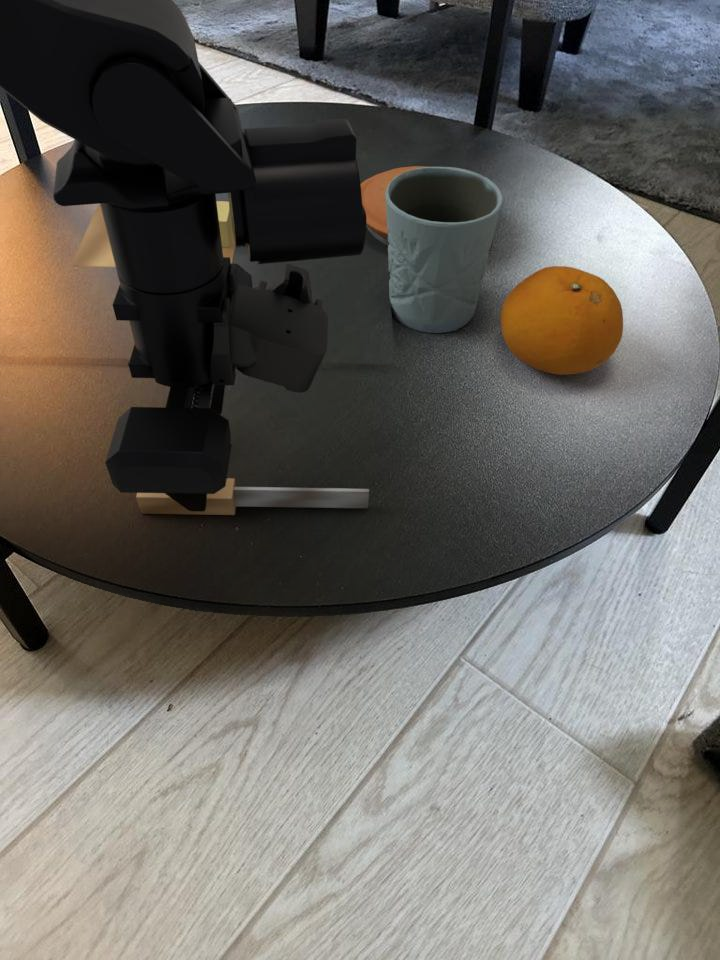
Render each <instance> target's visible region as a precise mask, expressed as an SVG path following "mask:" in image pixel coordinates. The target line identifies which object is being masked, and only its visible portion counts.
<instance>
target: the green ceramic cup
mask: <svg viewBox="0 0 720 960" xmlns="http://www.w3.org/2000/svg"><path fill="white" fill-rule="evenodd" d="M385 198H386V216H387V233H388V242H389V243H390V244H389V245H387V254H388V256H387V259H388V272H389V280H388V292H389V293H388V294H389V295H388V296H389V302H390V311H391V313H392V315H393V317H394V318H395V319H396V320H397V321H398V322H400V323H401V324H402V325H404V326H406V327H407V328H410V329H412V330H415V331H418V332H421V333H422V332H423V333H429V334H431V333H432V334H443V333H451V332H455V331H457V330H459V329H462V328H463V327H464V326H466V325H467V324H469V322H470V321H471V320H472V318H473V317H474V315H475V313H476V308H477V304H478V301H479V295H480V292H481V281H482V279H483V278H484V277H485V271H486V269H487V268H486V267H487V263H488V260H489V250H490V249H491V246H492V242H493V239H494V236H495V233H496V229H497V226H498V225H497V224H498V221H499V218H500V214H501V210H502V206H503V202H504V200H503V199H504V198H503V194H502V192H501V190H500V188H499V186H498V185H497V184H496V183H495V182H493V181H492V180H490V179H489V178H488V177H486V176H485V175H482V174H480V173H477V172H475V171H472V170H469V169H464V168H460V167H453V166H425V167H422V168H417V169H413V170H410V171H406V172H404V173H402V174H400V175H398V176H396V177H395V178H394V179H393V180H392V181H391V182H390V183H389V185H388V187H387V189H386V193H385Z"/></svg>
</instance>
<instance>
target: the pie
mask: <svg viewBox="0 0 720 960" xmlns="http://www.w3.org/2000/svg"><path fill="white" fill-rule="evenodd" d="M422 167H426V166H423V165H413V166H412V165H411V166H403V167H397V168H396V167H395V168H392V169H389V170H386V171H383V172H380V173H377V174H375V175H373V176H371V177H369V178H367V179H365V180H363V182H360V185H361V195H362V205H363V207H364V209H365V212H366V229H367V230H368V231H369V232H370V234H371V235H372V237H374V239H376V240H378V241H379V242H380V243H382V244H383V245H385V246H388V245H389V244H390V243H389V242H388V233H387V216H386V198H385V193H386V189H387V187H388V185H389V183H390V182H391V181H392V180H393V179H394V178H395V177H396V176H398V175H400V174H402V173H404V172H406V171H410V170H413V169H417V168H422Z"/></svg>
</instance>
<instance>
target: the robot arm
mask: <svg viewBox="0 0 720 960" xmlns="http://www.w3.org/2000/svg"><path fill="white" fill-rule="evenodd" d="M197 51H198V50H197V45H196V41H195V37H194V35H193V32H192V29H191V27H190V25H189V23H188V21H187V19H186V17H185V15H184V14H183V11H182V10H181V8H180V7H179V6H178V5H177V4H176V3H175V2H174V0H0V89H1V90H3V91H4V92H5V93H6V94H7V95H9V97H11V98H13V99H14V100H15V101H16V102H17V103H19V105H21V106H22V107H24V109H26V110H27V111H28V112H30V113H31V114H32V115H33V116H34V117H36V118H37V119H38V120H39V121H41V122H42V123H44V124H46V125H47V126H49V127H51V128H53V129H55V130H56V131H59V132H61V133H62V134H64V135H66V136H68V137H69V138H71V139H73V143H72V145H71V147H70V148H69V149H68V150H67V151H66V152H65V153H64V154H63V155H62V156H61V157H60V158H59V159H58V160H57V162H56V166H55V176H54V186H53V195H52V197H53V201H54V202H55V203H56V204H57V205H58V206H60V207H73V206H85V205H100V206H101V210H102V214H103V218H104V222H105V226H106V230H107V234H108V238H109V242H110V246H111V250H112V254H113V258H114V262H115V266H116V267H115V269H116V274H117V277H118V281H119V286H118V289H117V292H116V294H115V297H114V299H113V302H112V308H113V313H114V316H115V319H116V321H127V322H128V321H129V325H130V329H131V334H132V338H133V341H134V345H133V349H132V352H131V354H130V358H129V361H128V368H129V373H130V376H131V379H154V382H155V383H156V384H159V385H161V386H165V387H169V392H168V395H167V400H166V404H165V407H162V406H160V407H158V406H157V407H156V406H130V407H129V408H128V409H127V410H126V411H124V412H123V414H121V415H120V416H119V417H118V418H117V421H116V424H115V428H114V431H113V435H112V438H111V441H110V445H109V447H108V451H107V455H106V458H105V461H104V463H105V466H106V469H107V472H108V475H109V479H110V481H111V484H112V486H113V487H115V488H116V490H118V491H119V492H120V494H121V493H122V494H123V493H124V494H126V493H127V494H128V493H129V494H130V493H131V494H137V493H165V494H166V495H168V496H169V497H170V498H172V499H173V500H175V501H176V502H177V503H179V504H180V505H182V506H183V507H184V508H186V509H187V510H189V511H199V512H202V511H205V510H206V502H207V494H215V493H216V492H218V491H219V490H221V489H222V488H224V487H225V486H226V479H227V478H228V472H229V466H230V465H229V464H230V458H231V453H232V443H231V441H232V439H231V437H232V435H231V426H230V420H229V419H228V418H226V417H225V416H223V415H222V413H223V408H224V399H225V390H226V386H235V384H236V383H235V382H236V375H237V374H236V369H237V370H238V372H240V373H241V374H242V375H244V376H247V377H250V378H253V379H256V380H260V381H262V382H263V381H264V382H266V383H271V384H273V385H277V386H281V387H284V388H285V389H286V390H287V391H289V392H293V393H305V392H307V391H308V390H310V387H311V385H312V383H313V381H314V379H315V377H316V374H317V372H318V371H319V369H320V366H321V365H322V362H323V359H324V357H325V356H326V353H327V351H328V333H329V331H328V330H329V316H328V314H327V312H326V311H325V310H324V309H323V303H324V302H323V300H322V299H319V298H316V300H315V301H313V291H312V285H311V284H312V283H311V278H310V273H309V270H308V269H305V268H302V267H300V266H296V265H294V264H291V263H288V262H297V261H298V262H299V261H309V260H320V259H331V258H332V259H333V258H342V257H354V256H360V255H361V254H363V251H364V249H365V243H366V235H367V227H366V212H365V209H364V207H363V205H362V195H361V185H360V184H361V178H360V177H361V176H360V171H359V165H358V161H357V136H356V134H355V132H354V130H353V128H352V126H351V124H350V121H349V120H348V119H346V118H332V119H330V118H329V119H321V120H319V121H316V122H312V123H309V124H301V125H284V126H267V127H252V128H244V126H243V124H242V120H241V115H240V112H239V108H238V106H237V105H236V103H235V102H234V101H233V100H232V98H230V97H229V95H228V94H227V93H226V92H225V91H224V89H223V88H222V87H221V86H220V84H218V83H217V81H216V80H215V79H214V77H212V76H211V74H210V73H209V71H207V69H206V68H205V67H204V66H203V65H202V64H201V62H200V61H199V57H198V52H197ZM218 194H227V199H228V202H229V208H230V216H231V223H232V230H233V236H234V242H235V247H246V244H247V250H248V251H247V252H248V257H249V258H248V259H249V262H250V263H252V262H257V264H258V265H265V264H277V263H286V264H285V265H283V266H282V267H281V268H280V269H279V270H278V271H276V272H275V273H274V274H273V275H272V276H271V277H269V278H268V279H267V281H264V280H260V281H259V283H258V285H257V286H256V287H253V278H252V275H251V274H250V273H249V272H248V271H246V270H245V269H244V268H243V267H242V266H241V265H239V264H238V263H232V264H231V261H230V257H223V251H222V243H221V235H220V227H219V219H218V210H217V202H216V201H217V195H218Z"/></svg>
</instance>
